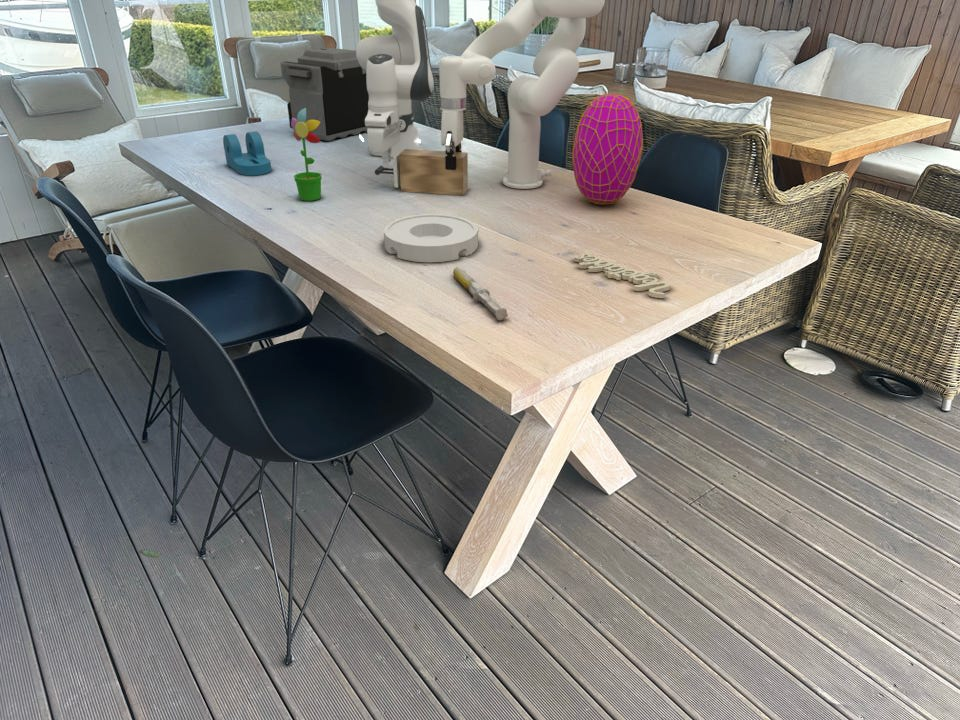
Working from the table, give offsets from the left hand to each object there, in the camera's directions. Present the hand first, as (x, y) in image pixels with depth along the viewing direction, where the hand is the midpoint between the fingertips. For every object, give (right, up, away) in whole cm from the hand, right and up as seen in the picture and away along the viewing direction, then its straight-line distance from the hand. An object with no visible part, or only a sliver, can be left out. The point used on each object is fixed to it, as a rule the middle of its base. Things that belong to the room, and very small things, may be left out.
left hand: (386, 162), depth 209 cm
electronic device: (-29, +33, +70) cm, 83 cm away
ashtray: (+16, -32, -38) cm, 52 cm away
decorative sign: (+61, -41, -53) cm, 91 cm away
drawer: (+9, -7, +2) cm, 11 cm away
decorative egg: (+64, -14, -7) cm, 66 cm away
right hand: (+20, -2, -3) cm, 21 cm away
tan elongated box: (+14, -8, +2) cm, 17 cm away
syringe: (+28, -47, -64) cm, 84 cm away
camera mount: (-48, +4, +20) cm, 52 cm away
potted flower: (-22, -12, -6) cm, 26 cm away
